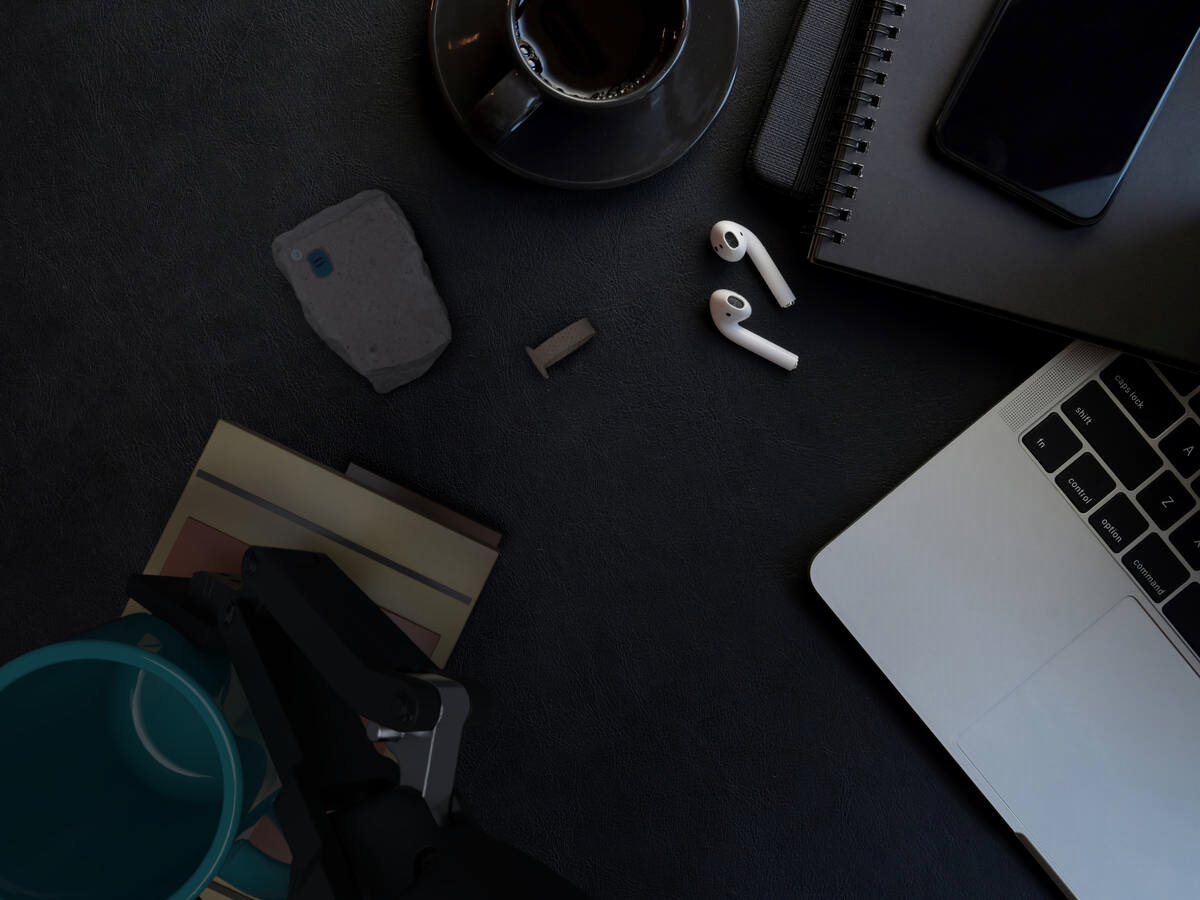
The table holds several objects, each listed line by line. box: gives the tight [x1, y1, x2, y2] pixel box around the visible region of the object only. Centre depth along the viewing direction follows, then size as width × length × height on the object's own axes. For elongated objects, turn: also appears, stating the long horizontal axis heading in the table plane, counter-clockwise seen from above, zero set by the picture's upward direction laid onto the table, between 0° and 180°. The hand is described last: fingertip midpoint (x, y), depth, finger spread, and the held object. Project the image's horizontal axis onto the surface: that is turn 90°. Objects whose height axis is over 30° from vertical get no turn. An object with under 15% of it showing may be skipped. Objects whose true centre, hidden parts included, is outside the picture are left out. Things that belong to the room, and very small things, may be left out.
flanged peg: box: [524, 317, 596, 379], centre depth 66 cm, size 3×5×5 cm, turn 124°
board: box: [120, 418, 502, 900], centre depth 40 cm, size 20×13×2 cm, turn 154°
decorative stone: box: [271, 188, 453, 394], centre depth 65 cm, size 13×10×6 cm
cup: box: [0, 608, 293, 900], centre depth 33 cm, size 9×12×11 cm
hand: (131, 713), depth 34 cm, fingers closed on cup, 9 cm apart
